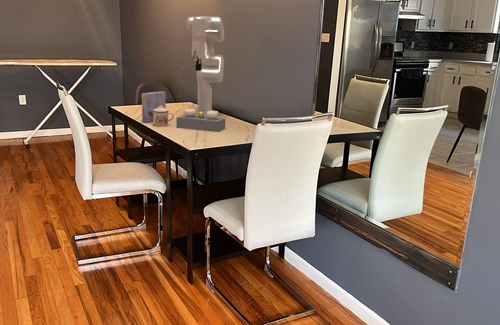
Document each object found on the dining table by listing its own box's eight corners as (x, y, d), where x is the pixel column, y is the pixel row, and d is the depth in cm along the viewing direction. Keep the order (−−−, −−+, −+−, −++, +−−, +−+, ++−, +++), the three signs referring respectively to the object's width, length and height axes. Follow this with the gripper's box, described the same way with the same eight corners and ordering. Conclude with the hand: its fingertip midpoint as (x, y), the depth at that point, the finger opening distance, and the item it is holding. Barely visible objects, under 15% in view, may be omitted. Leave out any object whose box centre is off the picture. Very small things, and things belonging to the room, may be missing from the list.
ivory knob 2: (209, 125, 273) (209, 110, 271) (219, 126, 272) (219, 111, 269) (204, 127, 268) (205, 111, 265) (215, 128, 266) (215, 112, 263)
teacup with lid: (153, 126, 269) (153, 106, 266) (152, 123, 278) (152, 104, 275) (174, 126, 273) (174, 106, 269) (172, 123, 281) (172, 104, 278)
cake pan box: (161, 118, 297) (160, 90, 292) (167, 118, 295) (167, 91, 290) (141, 122, 280) (140, 93, 275) (147, 123, 278) (147, 94, 273)
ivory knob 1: (187, 123, 277) (187, 108, 275) (197, 124, 276) (197, 109, 273) (182, 124, 271) (182, 109, 269) (192, 125, 270) (193, 110, 267)
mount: (185, 123, 281) (185, 114, 279) (225, 128, 274) (225, 118, 272) (176, 127, 270) (176, 117, 268) (218, 131, 263) (218, 121, 261)
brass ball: (199, 117, 272) (199, 111, 271) (205, 117, 271) (205, 111, 270) (197, 117, 269) (197, 112, 268) (202, 118, 268) (202, 112, 267)
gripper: (197, 38, 279) (197, 69, 284) (187, 38, 265) (187, 71, 270) (209, 39, 277) (208, 70, 282) (199, 39, 263) (199, 71, 268)
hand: (198, 70), depth 276 cm, fingers closed
